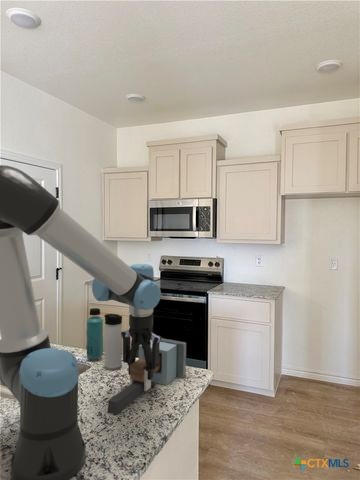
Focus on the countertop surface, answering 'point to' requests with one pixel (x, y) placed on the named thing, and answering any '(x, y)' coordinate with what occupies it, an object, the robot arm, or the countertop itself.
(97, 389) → the countertop surface
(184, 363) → the wall
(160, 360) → the brown block
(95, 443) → the countertop surface
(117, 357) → the travel mug
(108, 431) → the countertop surface
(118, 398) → the rail
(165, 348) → the socket block
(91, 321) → the teal cylinder
